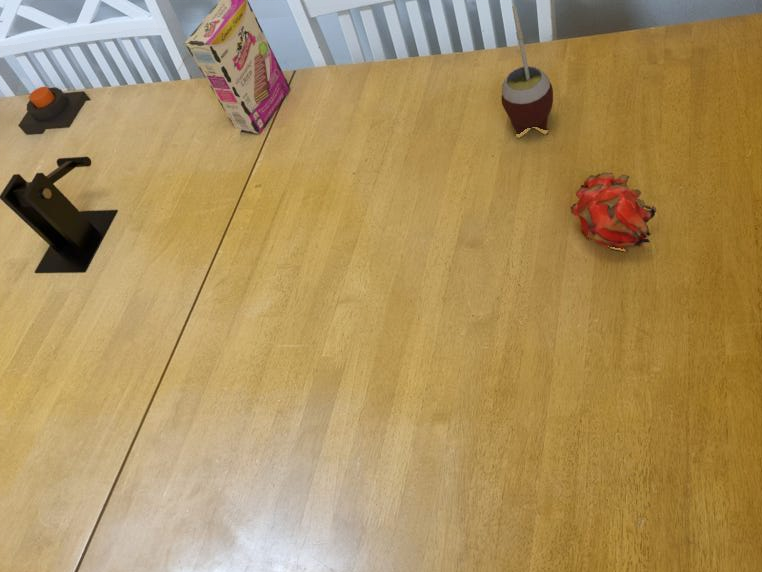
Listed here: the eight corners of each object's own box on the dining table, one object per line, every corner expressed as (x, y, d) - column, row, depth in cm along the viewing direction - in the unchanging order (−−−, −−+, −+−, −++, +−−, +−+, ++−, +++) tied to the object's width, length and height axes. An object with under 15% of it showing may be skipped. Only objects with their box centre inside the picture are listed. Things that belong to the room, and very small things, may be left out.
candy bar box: (261, 135, 116) (209, 45, 103) (236, 132, 118) (181, 43, 105) (293, 88, 121) (247, -4, 108) (268, 86, 123) (220, -5, 109)
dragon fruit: (587, 209, 96) (646, 270, 91) (542, 214, 91) (603, 279, 86) (619, 154, 91) (685, 216, 86) (575, 156, 85) (641, 222, 80)
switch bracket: (73, 216, 115) (14, 155, 105) (122, 214, 113) (66, 152, 103) (39, 277, 109) (-27, 218, 99) (89, 276, 107) (27, 217, 97)
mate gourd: (532, 149, 102) (514, 56, 90) (494, 127, 106) (472, 35, 94) (569, 119, 104) (557, 23, 91) (531, 98, 108) (514, 4, 95)
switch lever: (67, 168, 111) (59, 153, 110) (94, 166, 110) (86, 151, 109) (13, 207, 103) (3, 191, 101) (42, 206, 101) (33, 190, 100)
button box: (26, 135, 131) (10, 117, 127) (46, 104, 135) (31, 86, 131) (73, 131, 128) (57, 113, 125) (92, 101, 132) (77, 82, 129)
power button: (32, 109, 128) (25, 101, 126) (41, 95, 130) (34, 87, 128) (49, 108, 127) (42, 99, 126) (58, 94, 129) (51, 85, 127)
